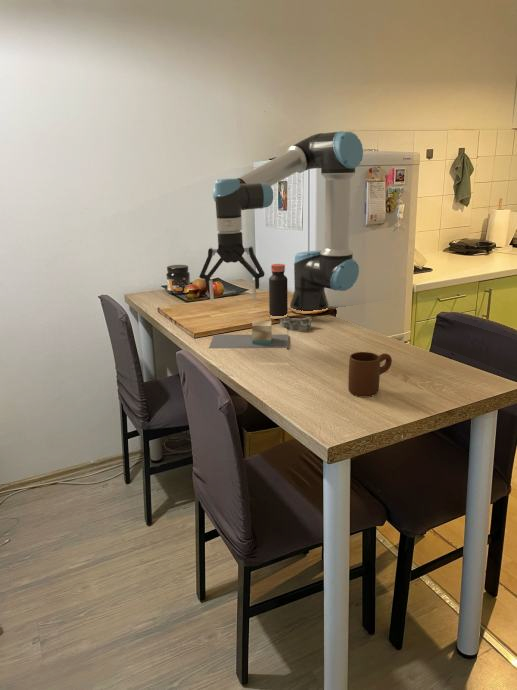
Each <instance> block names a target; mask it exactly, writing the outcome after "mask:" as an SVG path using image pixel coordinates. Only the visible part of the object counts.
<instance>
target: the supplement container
mask: <svg viewBox="0 0 517 690" xmlns="http://www.w3.org/2000/svg"><path fill="white" fill-rule="evenodd" d="M166 271H167V272H166V287H167V292H168V294H170V295H173V294H172V293H173V292H177V293H183V291H184V288H185V286H186V285H188V284H190V285H191V279H190V277H191V274H190V272H189V266H188V265H186V264H171V265H168V266H166Z"/></svg>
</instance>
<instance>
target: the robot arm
mask: <svg viewBox="0 0 517 690" xmlns="http://www.w3.org/2000/svg"><path fill="white" fill-rule="evenodd" d="M363 157H364V149H363V144H362V141H361V139H359V136H358V135H357V134H356V133H354V132H352V131H342V130H341V131H334V132H325V133H324V132H321V133H317V134H316V133H315V134H313V135H310V136H309V137H306V138H304V139H302V140H300V141H299V142H297V143H295V144H293V145H291V146H289V147H288V148H287V151H286V152H284V153H282V154H280V155H279V156H277V157H274V158H273V159H271V160H269V161H266V162H265V163H264V164H261V165H260V166H257V167H256V168H253V169H252V170H250V171H248V172H247V173H244V174H243V175H241V176H239V177H237V178H220V179H217V180H216V181H215V182H214V188H213V190H212V198H213V201H214V202H215V211H216V212H215V213H216V215H215V216H216V231H218V233H217V248H213V247H209V248H208V250H207V257H206V259H205V262H204V264H203V267H202V269H201V272H200V274H199V278H200V279H202V280H204V281H205V289H206V291H209V299H210V302H214V299H215V297H214V285H213V284H214V283H213V278H212V277H213V275H214V274H215V272H216V271H217V270H218V269H219V267H220V266H221V265H222V264H223V263H227V264H229V263H237V262H239V263H240V264H241V265H242V266H243V267H244V268H245V269H246V270H247V271H248V272H249V274H250V275H252V294H253V295H252V299H253V301H256V300H257V290H258V289H259V288H260V279H261V278H264V277H265V275H266V274H265V271H264V270H263V267H262V266H261V264H260V262H259V260H258V258H257V257H256V255H255V252H254V247H253V246H249V247H244V245H243V232H242V230H243V224H242V223H243V221H242V218H243V217H242V211H246V210H257V209H264V208H269V207H270V206H271V205H272V204H273V202H274V190H273V188H272V186H274V185H275V184H277V183H280V182H281V181H283V180H285V179H286V178H288V177H290V176H292V175H295V174H296V173H298V174H302V173H303V172H305V171H308V170H313V169H321V170H320V174H321V176H323V178H324V180H325V185H324V186H325V189H324V190H325V192H324V193H325V195H324V197H325V199H324V201H325V202H324V248H323V249H322V250H310V251H309V250H308V251H302V252H297V253H296V254H295V255H294V263H293V266H294V267H293V268H294V270H293V271H294V274H293V275H294V277H293V278H294V279H293V280H294V291H293V294H292V298H291V301H290V304H289V308H290V307H291V308H293V309H296V310H301V311H302V310H303V311H313V310H322V309H326V308H328V307H329V306H330V305H329V301H328V298H327V295H326V292H325V289H330V290H332V291H340V292H345V291H348V290H350V289H351V288H352V287H353V286H354V284H355V283H356V282H357V280H358V278H359V273H360V267H359V264H358V263H357V261H356V260H354V259H353V251H352V250H351V249H350V248H349V246H350V245H349V242H350V241H349V240H350V211H351V210H350V208H351V206H350V205H351V178H353V176H354V175H355V174H356V168H357V167H359V165H360V164H361V162H362V160H363ZM216 253H217V255H218V256H219V257H220V258H219V259H218V260H217V262H216V263H215V264H214V266H213V267H212V268H211V269H210V271H209V272H208V274H206V272H207V271H208V267H210V266H209V265H210V263H211V261H212V259H213V257H214V256H215V255H216ZM244 253H246V254H247V255H249V257H250V259H251V261H252V262H253V264H254V266H255V268H256V270H255V269H254V267H253V266H251V265H250V263H249V262H248V261H247V260H246V259H245V258H244V256H243V255H244Z"/></svg>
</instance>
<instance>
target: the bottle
mask: <svg viewBox="0 0 517 690" xmlns="http://www.w3.org/2000/svg"><path fill="white" fill-rule="evenodd" d="M285 266H286V264H283V263H272V264H271V269H270V270H271V275H270V277H269V278H268V305H269V307H268V309H269V310H268V311H269V314H270V315H272V316H284V315H286V314H287V313H288V314H289V312H288V307H289V306H288V277H287V276H286V275H285V272H286V267H285Z"/></svg>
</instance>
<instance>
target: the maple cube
mask: <svg viewBox="0 0 517 690" xmlns="http://www.w3.org/2000/svg"><path fill="white" fill-rule="evenodd" d="M272 332H273V331H272V320H252V324H251V335H252V344H271V339H272V335H273V334H272Z"/></svg>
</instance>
